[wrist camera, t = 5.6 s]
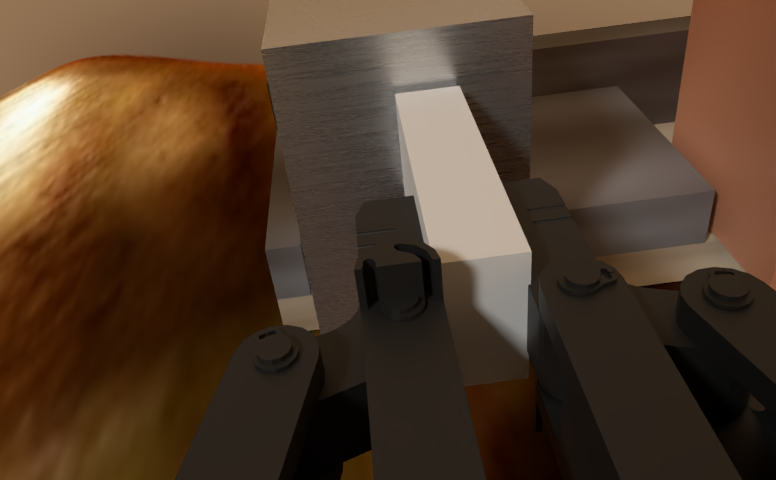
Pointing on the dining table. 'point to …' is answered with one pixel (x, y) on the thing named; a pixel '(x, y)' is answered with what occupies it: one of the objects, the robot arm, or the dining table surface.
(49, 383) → the dining table surface
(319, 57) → the gray block
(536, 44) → the base
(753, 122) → the terracotta plunger
